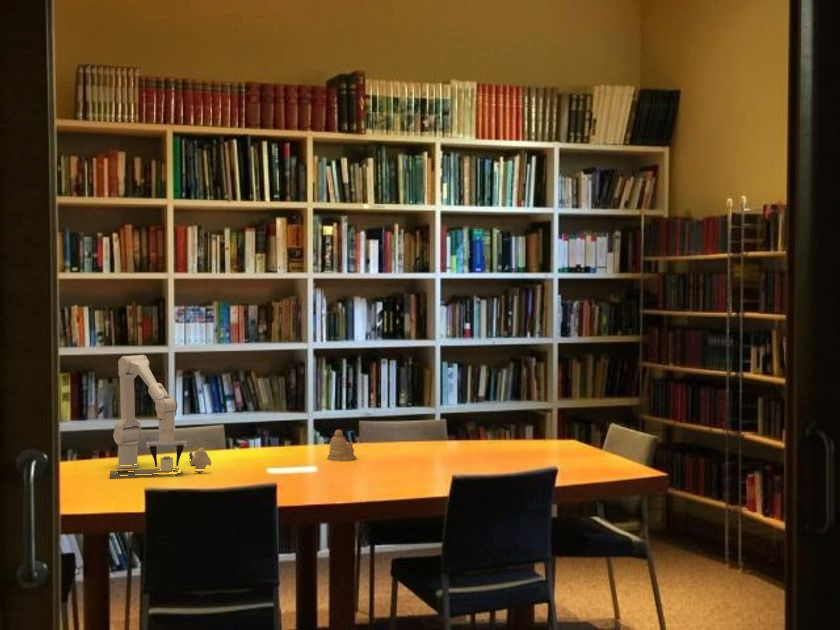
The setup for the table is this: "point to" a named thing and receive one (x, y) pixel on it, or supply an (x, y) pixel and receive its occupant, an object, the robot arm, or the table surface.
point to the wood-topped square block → (167, 464)
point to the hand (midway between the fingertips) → (166, 466)
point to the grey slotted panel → (143, 471)
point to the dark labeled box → (192, 456)
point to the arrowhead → (200, 459)
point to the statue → (340, 449)
